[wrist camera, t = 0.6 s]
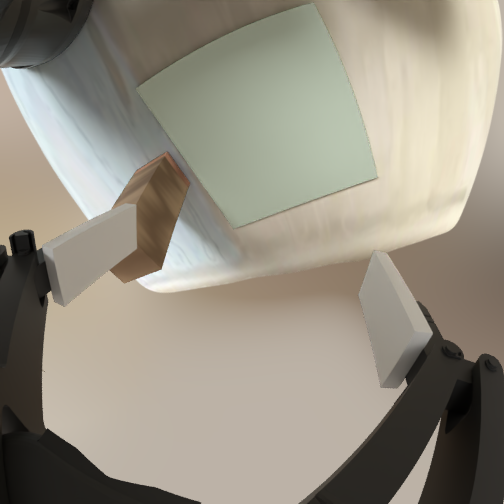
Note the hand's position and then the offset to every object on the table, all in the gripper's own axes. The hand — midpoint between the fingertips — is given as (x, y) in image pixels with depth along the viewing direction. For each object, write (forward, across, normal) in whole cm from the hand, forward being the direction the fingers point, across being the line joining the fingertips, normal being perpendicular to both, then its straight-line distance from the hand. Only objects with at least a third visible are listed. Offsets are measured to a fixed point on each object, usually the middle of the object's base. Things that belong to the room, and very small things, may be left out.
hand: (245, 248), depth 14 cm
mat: (+17, -2, +7) cm, 19 cm away
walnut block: (+18, -14, 0) cm, 22 cm away
